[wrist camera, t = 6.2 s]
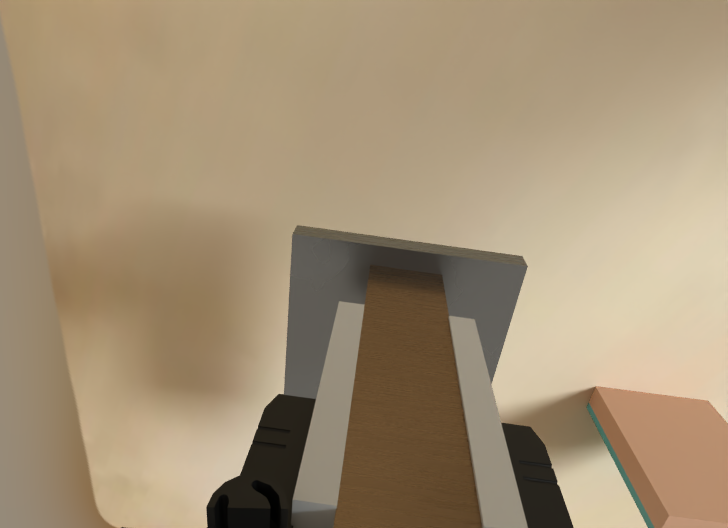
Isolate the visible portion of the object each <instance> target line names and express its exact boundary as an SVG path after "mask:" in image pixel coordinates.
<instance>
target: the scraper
mask: <svg viewBox="0 0 728 528" xmlns="http://www.w3.org/2000/svg"><path fill="white" fill-rule="evenodd" d="M527 267H528V266H527V264H526V262H525V261H524V259H523V257H522V256H517V255H510V254H502V253H495V252H488V251H480V250H473V249H466V248H459V247H451V246H444V245H437V244H430V243H422V242H415V241H408V240H400V239H393V238H386V237H379V236H371V235H364V234H357V233H350V232H342V231H335V230H328V229H320V228H313V227H306V226H299V225H297V227H296V229H295V230H294V232H293V235H292V254H291V273H290V292H289V311H288V330H287V349H286V368H285V386H284V395H290V396H297V397H305V398H312V399H316V398H317V393H318V389H319V385H320V381H321V376H322V372H323V368H324V364H325V359H326V355H327V351H328V347H329V342H330V338H331V334H332V330H333V325H334V321H335V317H336V312H337V308H338V304H339V301H341V302H349V303H356V304H364V305H365V306H364V313H363V320H362V328H361V335H360V342H359V350H358V357H357V364H356V371H355V379H354V386H353V393H352V401H351V408H350V415H349V422H348V430H347V437H346V444H345V452H344V459H343V466H342V474H341V481H340V488H339V495H338V503H337V509H336V512H335V519H334V526H333V528H482V522H481V516H480V510H479V503H478V497H477V491H476V485H475V479H474V473H473V467H472V460H471V454H470V448H469V442H468V436H467V430H466V424H465V417H464V411H463V405H462V399H461V393H460V387H459V380H458V374H457V368H456V362H455V356H454V350H453V344H452V337H451V331H450V325H449V319H448V318H449V316H455V317H462V318H470V319H475V322H476V326H477V330H478V334H479V338H480V342H481V346H482V350H483V354H484V358H485V362H486V366H487V369H488V373H489V377H490V381H491V384H492V381H493V377H494V374H495V371H496V367H497V364H498V361H499V358H500V354H501V351H502V348H503V345H504V341H505V338H506V335H507V332H508V328H509V325H510V322H511V319H512V315H513V312H514V309H515V306H516V302H517V299H518V296H519V293H520V289H521V286H522V283H523V280H524V276H525V273H526V270H527Z"/></svg>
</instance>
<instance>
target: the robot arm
mask: <svg viewBox="0 0 728 528" xmlns="http://www.w3.org/2000/svg"><path fill="white" fill-rule="evenodd" d="M364 306H365V305H364V304H356V303H349V302H341V301H339V304H338V308H337V312H336V317H335V321H334V325H333V330H332V334H331V338H330V342H329V347H328V351H327V355H326V359H325V364H324V368H323V372H322V376H321V381H320V385H319V389H318V393H317V398H316V399H312V398H305V397H297V396H290V395H283V394H278V395H277V396H276V397H275V398H274V399H273V400H272V401H271V402H270V403H269V404H268V405H267V406H266V407H265V409H264V412H263V414H262V417H261V420H260V423H259V425H258V430H257V431H256V433H255V436H254V439H253V443H252V444H251V447H250V450H249V453H248V455H247V458H246V461H245V463H244V466H243V469H242V472H241V474H240V476H237V477H235V478H233V479H231V480H229V481H227V482H225V483H224V484H223V485H222V486H221V487H220V488H218V489H217V490H216V491H215V492H214V493H213V495H212V497H211V499H210V501H209V503H208V505H207V524H208V527H207V528H333V526H334V519H335V512H336V509H337V503H338V495H339V488H340V481H341V474H342V466H343V459H344V452H345V444H346V437H347V430H348V422H349V415H350V408H351V401H352V393H353V386H354V379H355V371H356V364H357V357H358V350H359V342H360V335H361V328H362V320H363V313H364ZM448 319H449V325H450V331H451V337H452V344H453V350H454V356H455V362H456V368H457V374H458V380H459V387H460V393H461V399H462V405H463V411H464V417H465V424H466V430H467V436H468V442H469V448H470V454H471V460H472V467H473V473H474V479H475V485H476V491H477V497H478V503H479V510H480V516H481V522H482V528H573V525H572V522H571V519H570V516H569V513H568V510H567V507H566V505H565V502H564V499H563V496H562V493H561V490H560V487H559V485H557V479H556V476H555V473H554V470H553V469H552V468H551V466H552V464H551V461H550V458H549V456H548V453H547V450H546V447H545V445H544V443H543V442H542V441H541V440H540V438H539V437H538V436H537V435H536V433H535V432H534V431H533V430H532V428H531V427H528V426H520V425H513V424H506V423H501V420H500V417H499V413H498V409H497V405H496V401H495V397H494V393H493V389H492V385H491V381H490V377H489V373H488V369H487V366H486V362H485V358H484V354H483V350H482V346H481V342H480V338H479V334H478V330H477V326H476V322H475V319H470V318H462V317H455V316H449V318H448ZM122 528H124V527H122Z"/></svg>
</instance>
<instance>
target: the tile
mask: <svg viewBox="0 0 728 528" xmlns="http://www.w3.org/2000/svg"><path fill="white" fill-rule="evenodd" d="M587 409H588V411H589V413H590V415H591V417H592V419H593V421H594V423H595V425H596V427H597V429H598V431H599V433H600V435H601V437H602V439H603V441H604V443H605V444H606V446H607V448H608V450H609V452H610V454H611V456H612V458H613V460H614V462H615V464H616V466H617V468H618V470H619V472H620V474H621V476H622V478H623V480H624V482H625V484H626V486H627V487H628V489H629V491H630V493H631V495H632V497H633V499H634V501H635V503H636V505H637V507H638V509H639V511H640V513H641V515H642V517H643V519H644V521H645V523H646V525H647V527H648V528H728V423H727V422H726V421H725V420H724V419H723V417H722V416H721V415H720V414H719V413H718V412H717V410H716V409H715V408H714V407H713V406H712V405H711V403H710V402H709V401H705V400H697V399H690V398H682V397H674V396H666V395H659V394H651V393H643V392H636V391H628V390H620V389H612V388H605V387H597V386H596V387H595V389H594V391H593V394H592V396H591V399H590V401H589V403H588V406H587Z"/></svg>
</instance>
